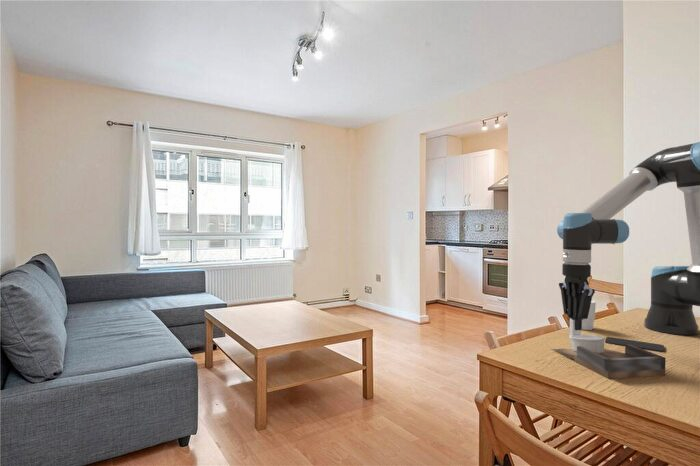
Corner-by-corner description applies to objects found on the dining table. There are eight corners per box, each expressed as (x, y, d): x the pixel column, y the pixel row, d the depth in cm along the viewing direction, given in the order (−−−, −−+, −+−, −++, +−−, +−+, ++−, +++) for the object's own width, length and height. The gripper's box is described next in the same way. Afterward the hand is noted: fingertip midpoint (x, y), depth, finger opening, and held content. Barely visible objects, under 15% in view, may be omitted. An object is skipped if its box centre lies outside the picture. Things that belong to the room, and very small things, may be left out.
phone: (606, 336, 130) (664, 344, 121) (606, 338, 130) (664, 347, 121) (604, 341, 125) (664, 351, 115) (604, 344, 125) (664, 353, 115)
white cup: (599, 331, 138) (599, 303, 138) (574, 330, 139) (575, 302, 139) (590, 325, 146) (590, 299, 145) (567, 324, 147) (567, 298, 147)
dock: (597, 350, 121) (598, 332, 121) (665, 379, 99) (665, 357, 98) (550, 352, 119) (550, 334, 119) (607, 382, 96) (608, 360, 96)
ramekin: (610, 355, 108) (608, 339, 109) (574, 353, 111) (573, 338, 112) (601, 349, 117) (600, 334, 117) (568, 348, 119) (566, 334, 120)
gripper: (551, 261, 125) (550, 333, 125) (580, 265, 112) (578, 347, 112) (573, 260, 126) (571, 333, 126) (604, 265, 113) (602, 346, 113)
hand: (574, 339), depth 119 cm, fingers closed
